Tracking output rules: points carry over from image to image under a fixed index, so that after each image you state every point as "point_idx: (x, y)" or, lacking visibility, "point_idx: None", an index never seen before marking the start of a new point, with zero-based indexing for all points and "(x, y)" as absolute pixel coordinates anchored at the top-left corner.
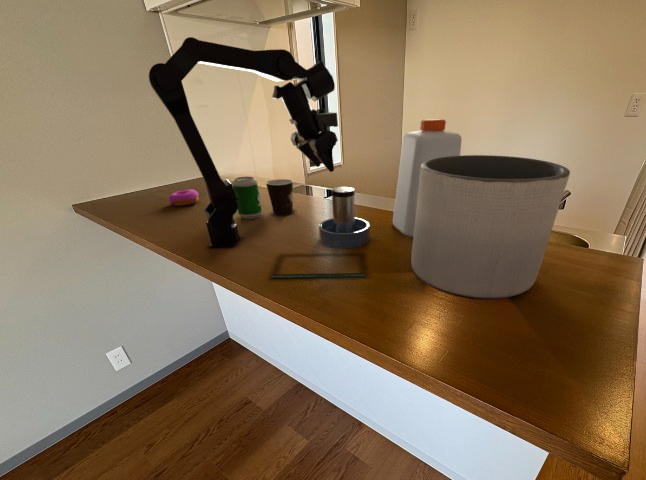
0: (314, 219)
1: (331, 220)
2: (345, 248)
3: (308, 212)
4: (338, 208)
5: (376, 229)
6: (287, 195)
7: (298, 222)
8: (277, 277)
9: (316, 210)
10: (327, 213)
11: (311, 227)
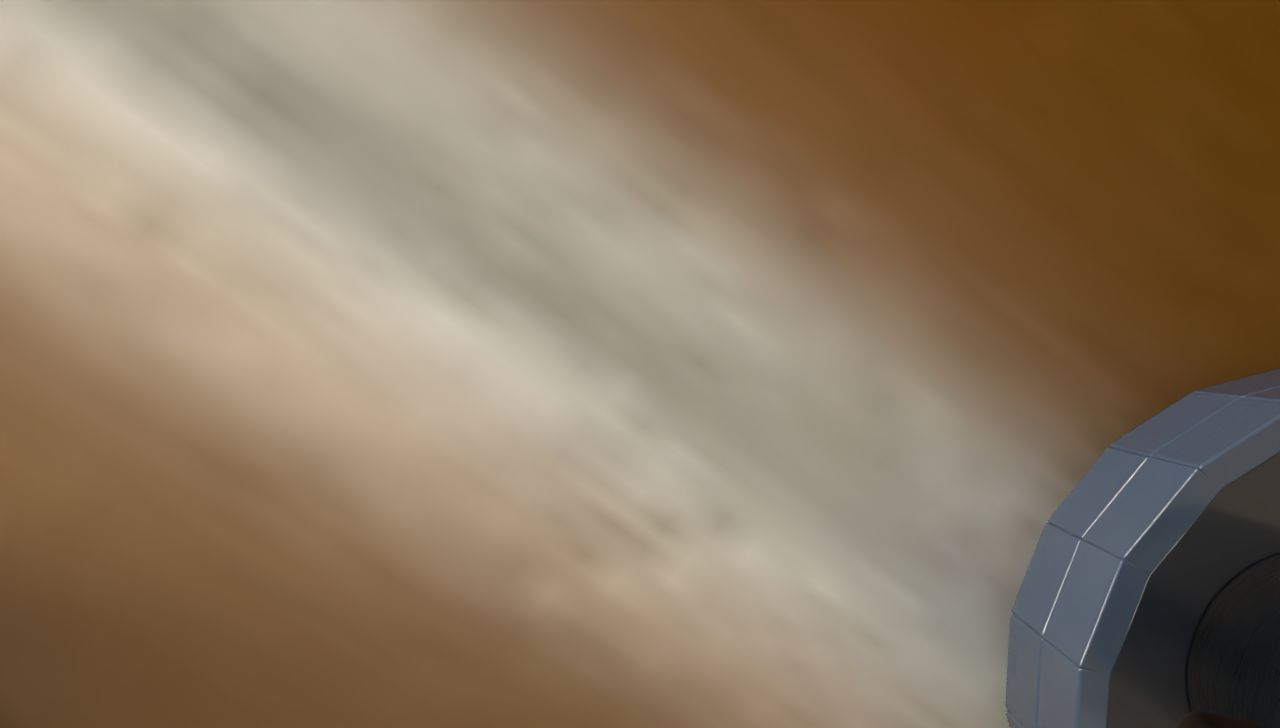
0: (353, 483)
1: (1099, 724)
2: None
3: (15, 368)
4: None
5: (1266, 87)
6: None
7: (314, 723)
8: None
9: (10, 219)
10: (246, 179)
11: (608, 701)
